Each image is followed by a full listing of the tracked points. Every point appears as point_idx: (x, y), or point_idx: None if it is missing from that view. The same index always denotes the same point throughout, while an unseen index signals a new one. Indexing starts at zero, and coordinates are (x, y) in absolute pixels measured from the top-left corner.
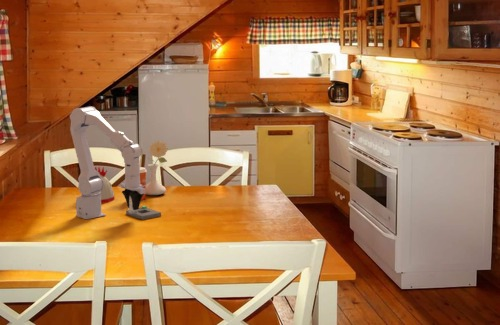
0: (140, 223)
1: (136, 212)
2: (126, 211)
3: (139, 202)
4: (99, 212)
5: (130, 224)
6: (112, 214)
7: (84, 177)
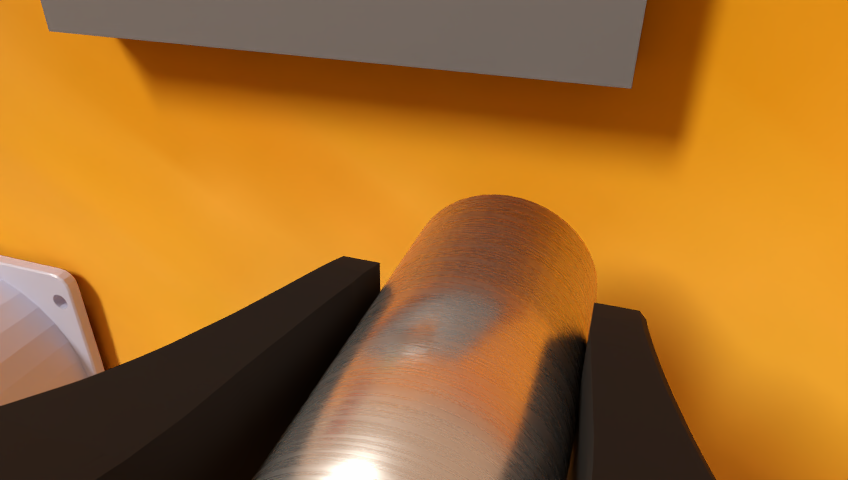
0: (810, 259)
1: (593, 283)
2: (72, 29)
3: (690, 470)
4: (40, 364)
5: (694, 386)
6: (39, 168)
7: None
